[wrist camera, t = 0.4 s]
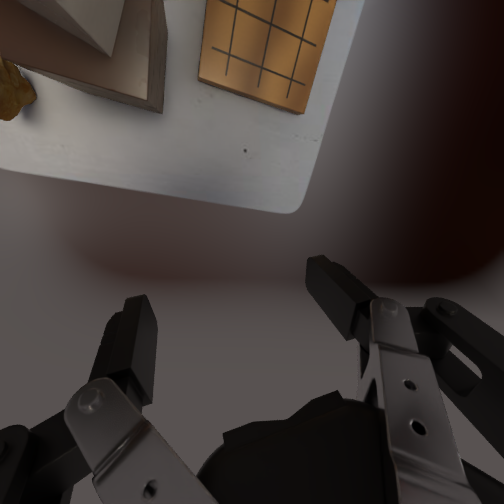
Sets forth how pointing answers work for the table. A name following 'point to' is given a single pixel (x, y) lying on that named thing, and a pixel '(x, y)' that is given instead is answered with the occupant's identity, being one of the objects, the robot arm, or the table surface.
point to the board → (265, 48)
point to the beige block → (83, 19)
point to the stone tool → (13, 91)
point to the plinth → (93, 53)
